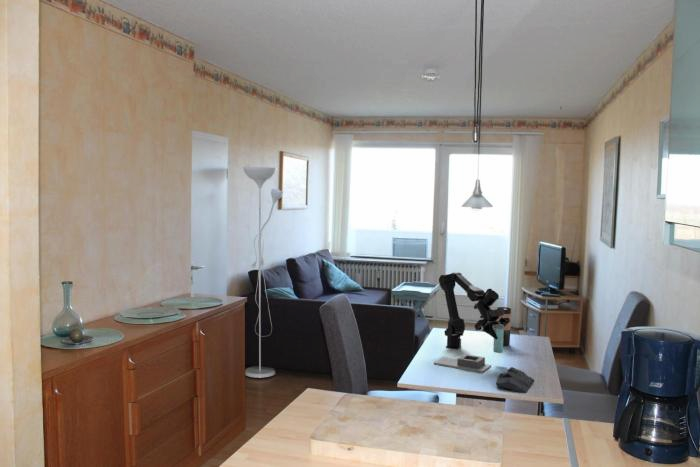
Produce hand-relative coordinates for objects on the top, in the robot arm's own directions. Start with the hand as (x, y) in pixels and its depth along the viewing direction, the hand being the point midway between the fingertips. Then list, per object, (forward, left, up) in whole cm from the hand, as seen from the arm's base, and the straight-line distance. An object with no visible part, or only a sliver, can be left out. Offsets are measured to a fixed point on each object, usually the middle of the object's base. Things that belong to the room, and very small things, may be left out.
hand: (500, 338), depth 279 cm
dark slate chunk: (+14, -26, -13) cm, 32 cm away
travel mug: (-10, +40, -13) cm, 43 cm away
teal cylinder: (-1, +1, -7) cm, 7 cm away
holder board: (-14, -12, -13) cm, 23 cm away
